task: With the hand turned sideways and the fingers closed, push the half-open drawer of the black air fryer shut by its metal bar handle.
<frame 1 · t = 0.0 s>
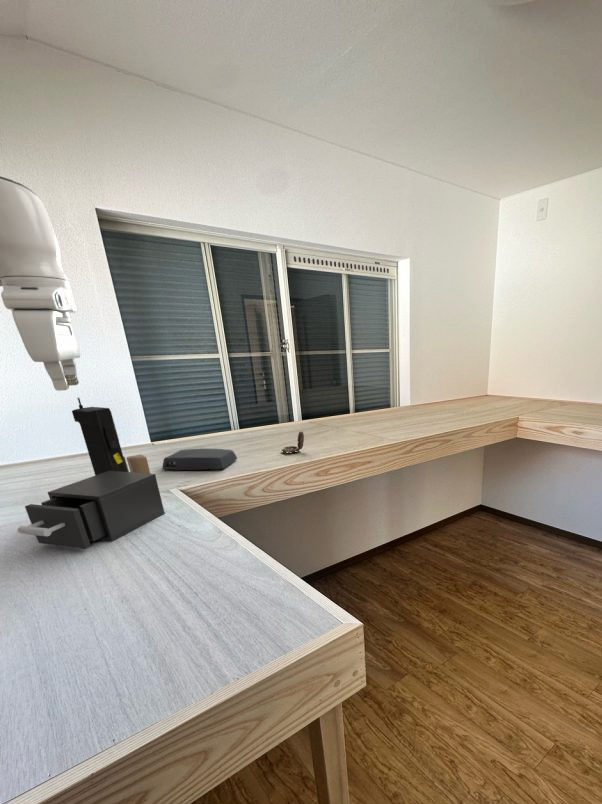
hand: (68, 387, 73), 29 cm above the table, tool pointing down, fingers open, 8 cm apart
portable radio: (120, 499, 105), on the table
hard drive: (201, 465, 133), on the table
air fryer: (116, 524, 91), on the table
wooden block: (143, 485, 116), on the table
fryer drawer: (77, 518, 82), point 5 cm above the table, slide at 4.0 cm
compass: (292, 453, 145), on the table
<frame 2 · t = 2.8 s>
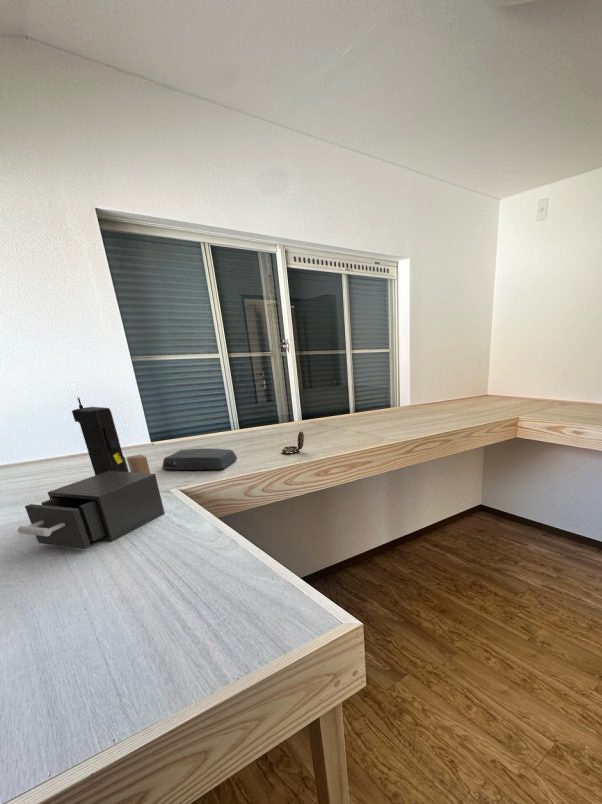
nothing on the table moved.
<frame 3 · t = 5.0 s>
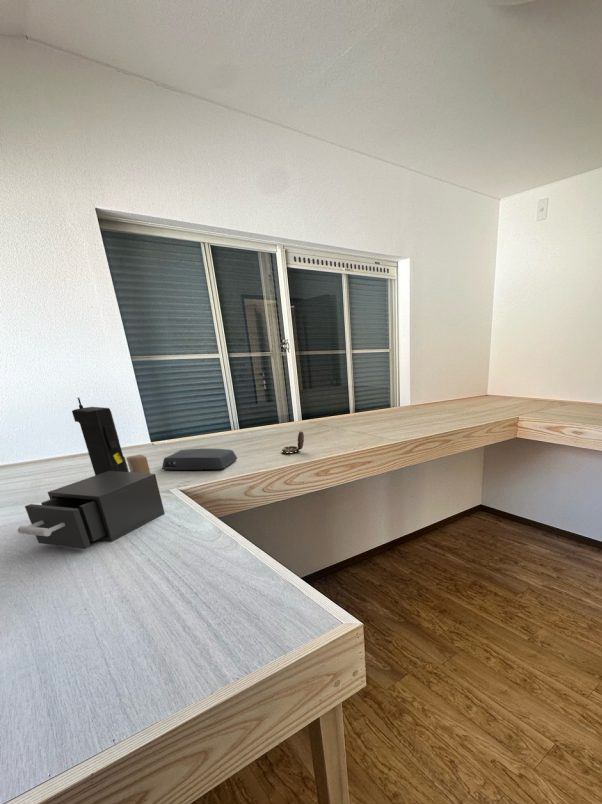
nothing on the table moved.
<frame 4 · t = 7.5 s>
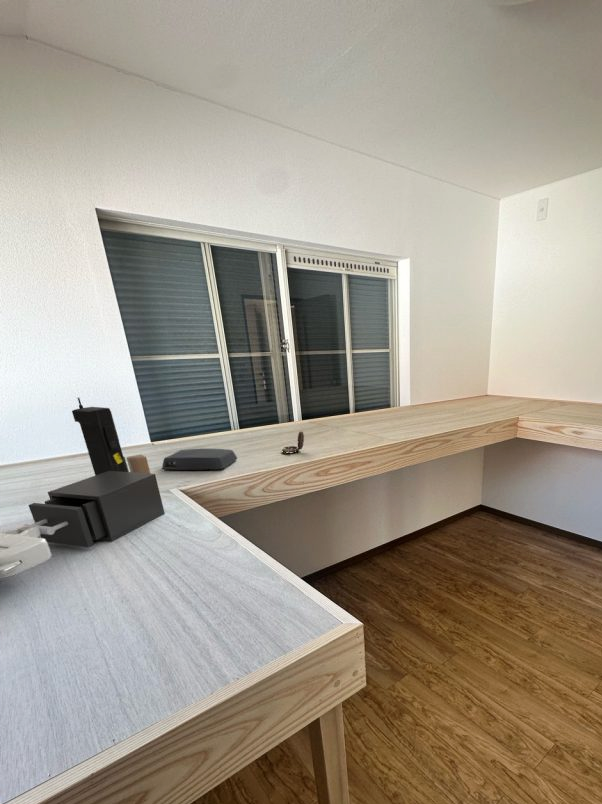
hand: (33, 530, 74), 6 cm above the table, tool horizontal, fingers closed, pressing on fryer drawer
fryer drawer: (80, 516, 82), point 5 cm above the table, slide at 3.3 cm, touching gripper
everything else where it was.
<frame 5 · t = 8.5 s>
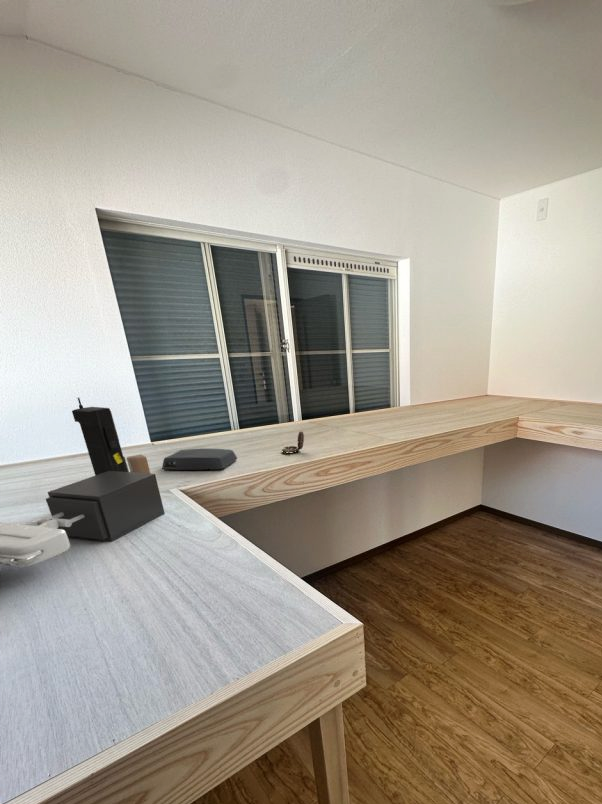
hand: (52, 522, 77), 6 cm above the table, tool horizontal, fingers closed, pressing on fryer drawer
fryer drawer: (95, 510, 85), point 5 cm above the table, slide at 0.0 cm, touching air fryer, gripper
everything else where it was.
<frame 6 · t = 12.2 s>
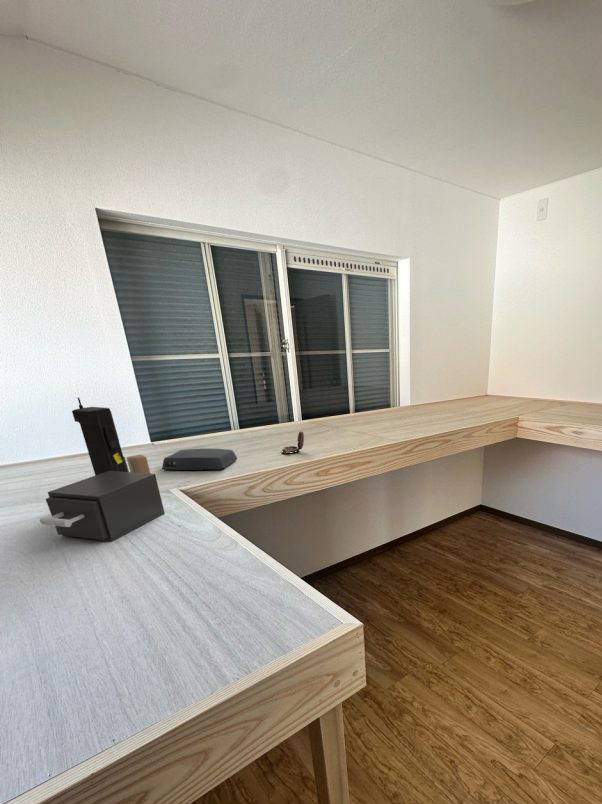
fryer drawer: (95, 510, 85), point 5 cm above the table, slide at 0.0 cm
everything else where it was.
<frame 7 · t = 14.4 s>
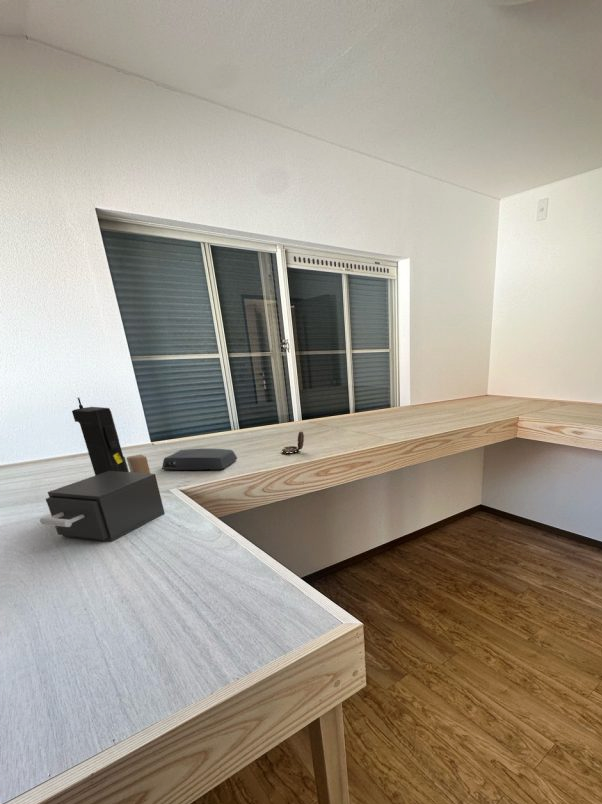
nothing on the table moved.
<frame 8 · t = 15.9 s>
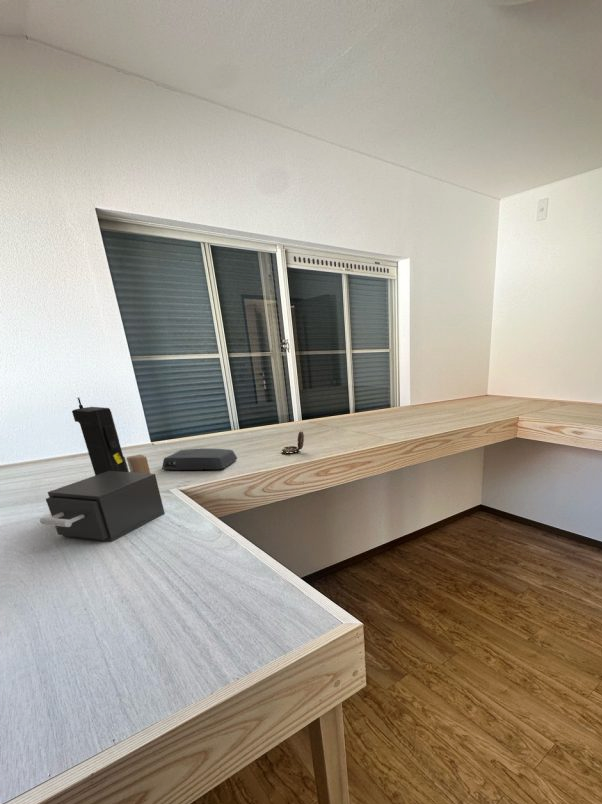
nothing on the table moved.
at the end: fryer drawer slide at 0.0 cm; portable radio moved 0.2 cm from its start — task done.
